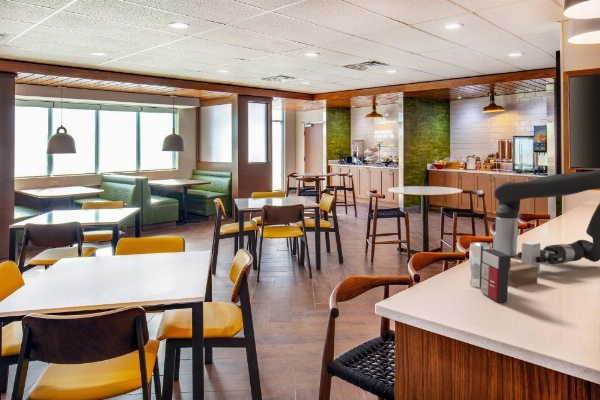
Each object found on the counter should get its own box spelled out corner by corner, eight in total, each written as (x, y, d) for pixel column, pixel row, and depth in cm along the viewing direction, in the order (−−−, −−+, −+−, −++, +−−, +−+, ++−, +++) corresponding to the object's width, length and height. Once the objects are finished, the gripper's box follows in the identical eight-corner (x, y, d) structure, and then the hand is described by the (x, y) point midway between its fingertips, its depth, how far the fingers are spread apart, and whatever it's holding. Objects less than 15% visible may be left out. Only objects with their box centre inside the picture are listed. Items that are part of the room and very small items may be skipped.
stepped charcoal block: (479, 292, 155) (480, 249, 154) (491, 292, 156) (493, 248, 154) (496, 303, 144) (497, 256, 143) (509, 302, 145) (510, 255, 143)
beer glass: (488, 283, 165) (490, 242, 164) (490, 289, 159) (491, 246, 157) (468, 282, 168) (469, 241, 166) (468, 287, 161) (469, 245, 160)
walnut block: (486, 279, 172) (486, 263, 171) (509, 275, 177) (509, 259, 176) (513, 287, 161) (514, 270, 160) (537, 283, 166) (537, 266, 165)
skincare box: (531, 276, 175) (532, 244, 174) (520, 273, 179) (521, 242, 178) (540, 273, 178) (541, 242, 177) (529, 271, 182) (530, 241, 181)
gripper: (544, 241, 189) (513, 244, 184) (575, 248, 176) (543, 251, 170) (543, 259, 190) (512, 263, 184) (574, 267, 177) (542, 271, 171)
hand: (527, 257), depth 177 cm, fingers open, 8 cm apart
